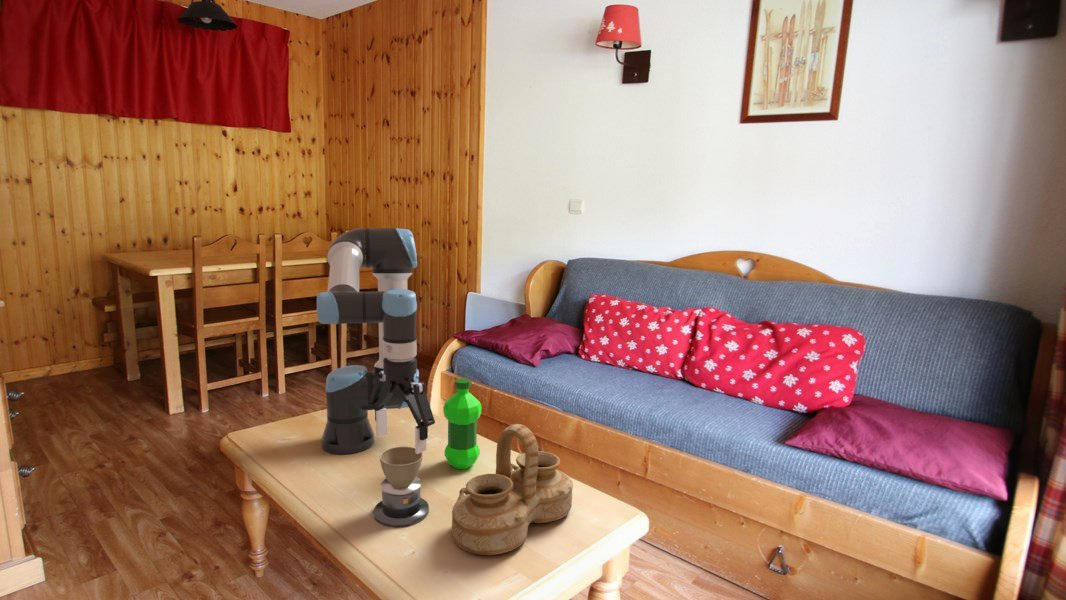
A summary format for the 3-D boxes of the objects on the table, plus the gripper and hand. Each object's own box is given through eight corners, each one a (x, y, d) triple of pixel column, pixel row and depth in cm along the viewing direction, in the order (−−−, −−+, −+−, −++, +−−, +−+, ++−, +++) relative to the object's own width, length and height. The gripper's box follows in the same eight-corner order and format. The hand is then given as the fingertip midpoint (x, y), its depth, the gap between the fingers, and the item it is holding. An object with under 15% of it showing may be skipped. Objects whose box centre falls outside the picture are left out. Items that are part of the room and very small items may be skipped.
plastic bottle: (467, 476, 167) (468, 389, 162) (436, 467, 172) (436, 382, 167) (487, 462, 176) (488, 379, 171) (456, 454, 181) (457, 372, 176)
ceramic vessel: (528, 483, 165) (531, 395, 160) (585, 507, 154) (590, 413, 149) (433, 538, 139) (433, 434, 134) (494, 572, 127) (496, 460, 123)
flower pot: (382, 495, 141) (381, 467, 139) (378, 475, 150) (377, 448, 149) (425, 490, 144) (425, 461, 143) (419, 471, 153) (419, 444, 152)
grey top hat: (369, 503, 152) (369, 475, 150) (421, 494, 157) (421, 467, 155) (378, 531, 140) (378, 501, 139) (434, 520, 145) (434, 491, 144)
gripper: (352, 349, 145) (354, 433, 149) (426, 373, 131) (426, 465, 135) (377, 343, 151) (378, 424, 155) (450, 365, 137) (450, 453, 141)
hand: (400, 443), depth 145 cm, fingers open, 13 cm apart
